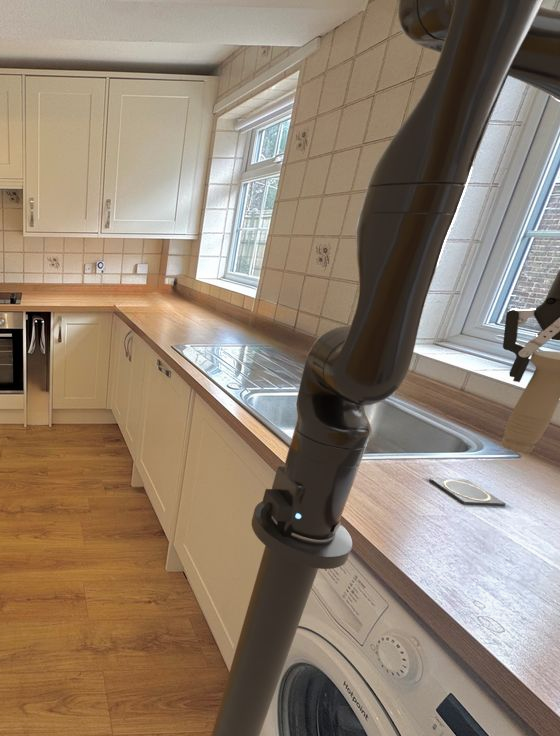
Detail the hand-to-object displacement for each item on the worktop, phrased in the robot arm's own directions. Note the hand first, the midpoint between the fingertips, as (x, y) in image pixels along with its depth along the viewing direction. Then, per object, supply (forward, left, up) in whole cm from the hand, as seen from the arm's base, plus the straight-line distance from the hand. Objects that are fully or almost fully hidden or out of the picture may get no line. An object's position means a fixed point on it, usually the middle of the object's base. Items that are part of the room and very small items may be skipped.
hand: (546, 385), depth 59 cm
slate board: (+8, +10, -26) cm, 29 cm away
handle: (0, 0, -11) cm, 11 cm away
